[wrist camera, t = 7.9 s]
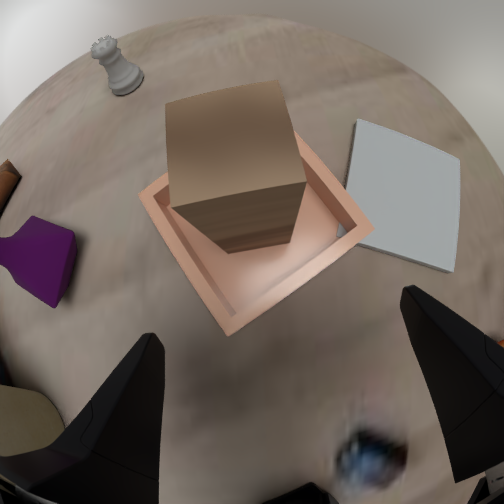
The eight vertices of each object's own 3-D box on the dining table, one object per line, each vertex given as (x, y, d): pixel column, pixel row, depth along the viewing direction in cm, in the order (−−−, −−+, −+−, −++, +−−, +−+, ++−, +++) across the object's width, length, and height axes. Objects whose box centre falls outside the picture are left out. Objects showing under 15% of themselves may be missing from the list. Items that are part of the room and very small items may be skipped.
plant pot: (90, 396, 23) (-23, 446, 7) (90, 484, 21) (20, 542, 5) (10, 341, 24) (-84, 349, 9) (15, 428, 23) (-57, 455, 7)
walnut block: (289, 243, 23) (306, 181, 10) (228, 254, 23) (170, 207, 10) (277, 185, 23) (277, 79, 10) (219, 196, 24) (165, 103, 11)
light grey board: (447, 273, 22) (453, 272, 21) (334, 238, 23) (336, 236, 22) (455, 162, 23) (459, 159, 22) (355, 123, 24) (357, 118, 23)
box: (235, 329, 23) (227, 336, 19) (155, 207, 25) (137, 194, 21) (360, 238, 23) (375, 229, 19) (270, 129, 25) (269, 105, 21)
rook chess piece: (145, 88, 27) (117, 44, 19) (112, 102, 27) (80, 63, 20) (144, 66, 28) (120, 24, 20) (114, 79, 28) (86, 41, 20)
